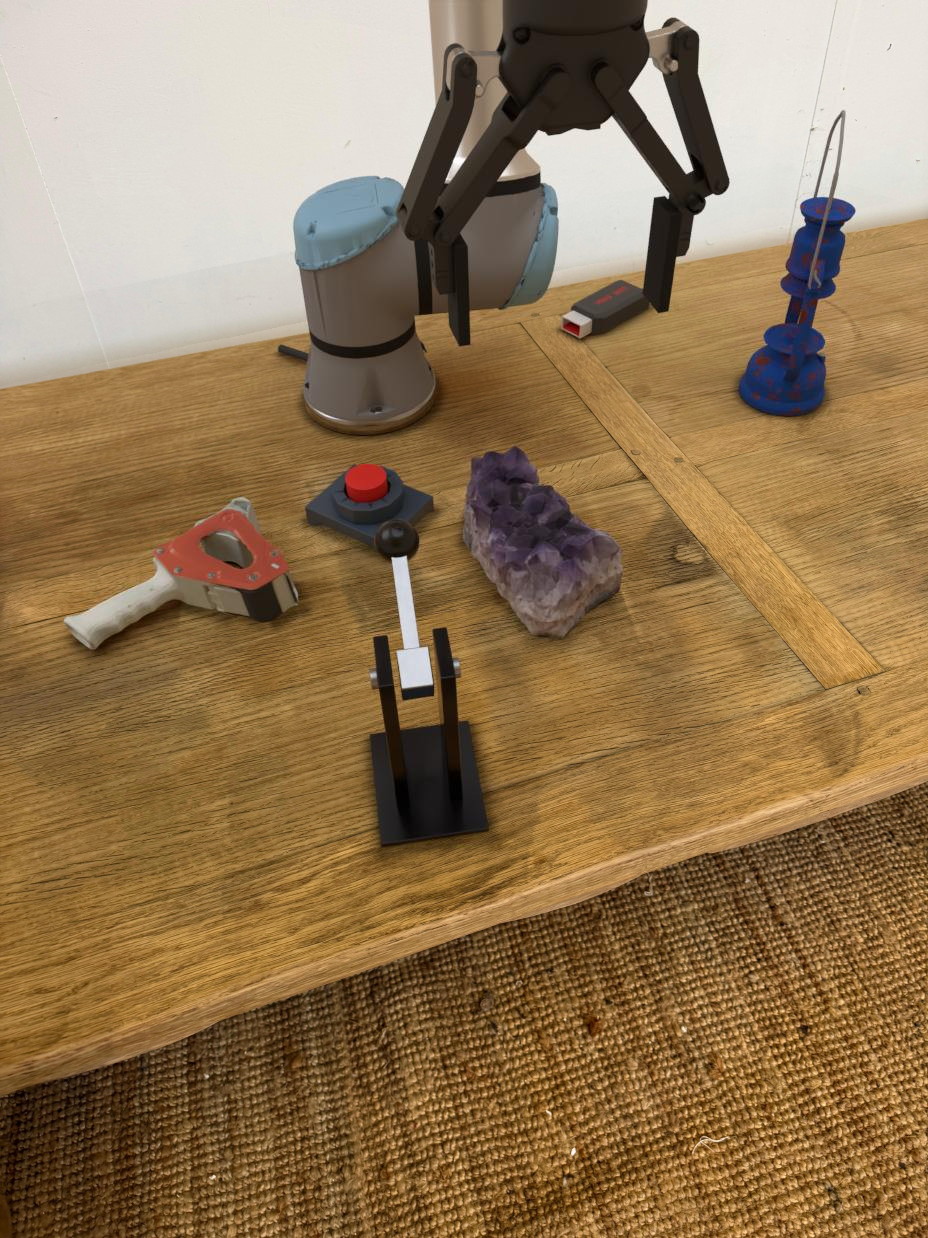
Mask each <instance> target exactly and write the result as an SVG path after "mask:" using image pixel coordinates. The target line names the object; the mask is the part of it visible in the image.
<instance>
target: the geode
mask: <svg viewBox="0 0 928 1238" xmlns="http://www.w3.org/2000/svg"><path fill="white" fill-rule="evenodd" d="M469 476H470V480H469V482H467V483H466V493H465V503H464V505H463V511H462V512H463V513H462V516H463V519H464V521H463V528H462V541H463V542H464V543H465V544H466V546H467V548H468V550H469V553H470V554H471V556H472V557H473V558H474V559H475V560H476V561H477V562H478V564H479V565H480V566H481V568H482V570H483V571H484V573H485V576H486V577H487V579H489V581H490V582H491V583H492V584H494V585H496V591H497V592H498V593H499V595H500V596H501V597H502V598H504V599H505V600H506V601H507V602H509V605H510V608H511V609H512V611H513V612H514V613H515V614H516V617H517V618H518V620H519V621H521V623H522V624H523V625H524V626H525V627H526V628H527V630H528V631H529V633H530V635H531V636H533V637H546V638H551V639H557V640H563V639H564V638H565V636H566V635H567V634H569V633H570V632H571V631H573V629H575V628H576V627H577V626H579V623H580V621H581V620H582V619H583V618H584V617H585V616H586V614H588V613H589V611H591V610H593V609H595V608H597V607H598V605H600V604H602V603H604V602H606V601H607V600H609V599H611V598H612V597H613V596H614V595H615V594H616V593H617V592H618V591H620V590H621V586H622V581H623V576H624V570H623V569H624V568H623V564H622V563H621V560H622V557H623V553H624V552H623V550H622V548H621V546H620V545H619V543H618V541H617V540H616V539H614V538H613V537H612V535H611V534H610V533H608V532H606V530H603V529H598V528H594V529H593V528H592V527H591V526H590V525H589V524H588V523H586V521H584V520H582V519H581V518H580V517H579V516H578V514H577V513H572V512H571V509H570V505H569V503H568V500H567V498H566V497H564V496H562V495H561V494H560V493H559V492H558V491H556V490H555V488H554V487H553V486H552V485H550V484H546V485H545V484H540V476H539V475H538V469H537V468H536V467H535V466H534V465H532V463H531V461H530V459H529V456H528V455H527V454H526V453H525V451H524V450H522V449H521V448H520V447H519V446H518V445H513V446H512V447H511V448H509V449H508V450H506V451H505V452H504V453H501V452H498V451H494V450H488V451H486V452H485V453H484V454H483V456H482V457H477V456H476V457H471V458H470V475H469Z"/></svg>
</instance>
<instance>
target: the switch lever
mask: <svg viewBox="0 0 928 1238" xmlns="http://www.w3.org/2000/svg"><path fill="white" fill-rule="evenodd" d="M419 535H420V534H419V533H418V531H417V529H416V528H415V526H413V525H412V524H410V523H409V522H407V521H405V520H401V519H392V520H389V521H387V522H385V523H383V524H382V525H381V526H380V527H379V528H378V530H377V532H376V534H375V539H374V545H375V548H374V549H375V551H376V553H377V555H378V556H379V557H380V558H381V559H382V560H383V561H384V562H387V563H388V564H391V566H392V574H393V580H394V582H393V583H394V588H395V595H396V603H397V610H398V618H399V625H400V633H401V639H402V647H403V649H397V650H395V654H396V664H397V671H398V679H399V686H400V694H401V700H402V701H409V700H416V699H423V698H430V697H435V681H434V680H435V678H434V674H433V673H434V672H433V666H432V660H431V652H430V646H428V645H425V646H421V643H420V637H419V629H418V621H417V617H416V609H415V602H414V594H413V588H412V582H411V581H412V580H411V574H410V567H409V566H410V565H409V561H411V560H412V559H413V558H414V557H415V556H416V555H417V553H418V551H419V548H420V536H419Z"/></svg>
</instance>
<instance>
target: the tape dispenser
mask: <svg viewBox="0 0 928 1238" xmlns="http://www.w3.org/2000/svg"><path fill="white" fill-rule="evenodd" d="M260 526H261V525H260V522H259V520H258V517H257V514H256V512H255V509H254V505H253V504H252V503H251V500H249V499H247V498H246V497H235V498H233V499H232V500H230V502H229V503H228V504H226V506H225V507H224V508H222V509H221V510H220V511H218V512H216V513H214V514H213V515H211V516H208V517H205V518H203V519H200V520H197V522H195V524H194V525H193V527H192V528H190V529H189V530H187V531H186V532H184V533H183V534H181V535H179V536H177V537H175V538H174V539H173V540H170V541H168V542H166V543H163V544H162V545H159V546H157V547H156V548H155V549H154V550H153V555H154V557H153V558H152V563H153V565H154V567H155V569H156V572H155V574H154V575H153V576H152V577H151V578H150V579H148V580H146V581H144V582H141V583H139V584H137V585H135V586H132V587H130V588H127V589H125V590H124V591H122V592H119V593H117V594H116V595H113V596H111V597H109V598H107V599H106V600H104V601H102V602H100V603H98V604H96V605H95V606H92V607H91V608H89V609H88V610H86V611H84V612H82V613H79V614H75V615H70V616H69V615H68V616H66V617H65V618H64V619H63V624H64V626H65V627H66V628H67V630H68V631H69V632H70V634H71V635H72V636H73V637H74V638H75V639H76V640H77V641H78V642H80V643H81V644H83V645H84V646H85V647H87V648H88V649H89V650H93V651H94V650H96V649H98V647H100V645H101V644H102V643H104V641H105V640H107V639H109V638H110V637H112V636H113V635H117V634H118V633H120V632H122V631H123V630H124V629H125V628H126V627H129V626H130V625H131V624H134V623H137V622H138V621H140V620H141V618H143V617H144V616H147V615H149V614H151V613H154V612H155V611H156V610H158V609H159V608H160V607H162V606H163V605H164V604H166V603H167V602H170V601H172V600H178V601H181V602H183V603H184V604H186V605H190V606H194V607H199V608H202V609H208V610H215V609H216V610H217V611H218V612H221V613H231V614H235V615H242V616H246V617H249V618H250V619H251V620H253V621H255V622H258V623H268V622H270V621H272V620H275V619H276V618H278V617H279V616H280V615H281V614H284V613H285V612H286V611H288V610H289V609H290V608H292V607H294V606H299V601H300V599H299V592H298V590H297V588H296V586H295V582H294V580H293V577H292V574H291V572H290V565H289V564H288V562H287V561H286V559H285V555H284V553H283V552H282V550H281V549H279V548H278V547H277V548H276V547H275V546H274V545H273V544H271V543H270V541H268V540H267V539H266V537H265V536H263V535H262V532H261V527H260ZM201 547H202V549H203V550H202V549H201ZM226 562H233V563H235V564H237V565H239V566H240V567H242V568H237V567H234V566H232V565H230V564H228V563H226Z"/></svg>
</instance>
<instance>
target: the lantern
mask: <svg viewBox="0 0 928 1238" xmlns="http://www.w3.org/2000/svg"><path fill="white" fill-rule="evenodd" d="M846 113H847V112H846V110H845V109H842V110H841V111H840V113H839V114H838V115H837V116H836V118H835V120H833V123H832V126H831V128H830V130H829V133H828V136H827V139H826V143H825V148H824V152H823V155H822V159H821V160H822V161H821V165H820V169H819V173H818V177H817V181H816V185H815V189H814V193H813V197H809V198H807V199H804V200H803V201H802V202H801V203H800V205H799V210H800V214H801V215H802V217H804V218H803V222H804V226H801V227H799V228H798V229H797V230H796V231H795V233H794V235H793V236H794V237H793V240H792V245H791V249H790V253H789V256H788V258H787V259H786V261H785V267H784V268H785V269H786V271H787V272H788V273H787V274H786V275H784V276H783V277H782V278H781V279H780V281H779V282H780V283H779V284H780V285H779V286H780V288H781V289H782V291H783V292H784V293H786V294H788V295H790V299H789V302H788V306H787V310H786V314H785V319H784V323H778V324H774V325H771V326H770V327H768V328H767V329H766V330H765V331H764V332H763V336H762V337H763V340H764V343H765V345H763V346H762V347H760V348H758V349H757V350H756V351H755V352H753V354H752V355H751V357H750V358H749V360H748V361H747V364H746V367H745V371H744V372H743V374H742V375H741V378H740V380H739V385H738V393H739V396H740V397H741V399H742V400H743V401H744V402H745V403H746V404H747V405H749V406H750V407H752V408H754V409H756V410H758V411H760V412H763V413H766V414H769V415H775V416H784V417H793V416H801V415H802V416H803V415H806V414H809V413H811V412H814V411H816V410H817V409H818V408H819V407H820V406H821V405H822V404H823V401H824V398H825V395H826V388H825V384H826V383H825V382H826V377H827V367H826V356H827V354H826V352H820V351H821V350H823V349H824V347H825V345H826V339H825V337H824V336H823V334H822V333H821V332H820V331H818V330H817V329H815V328H814V327H813V323H814V319H815V316H816V312H817V307H818V303H819V300H823V299H827V298H829V297H831V296H833V294H835V293H836V290H837V285H836V283H835V282H834V278H836V277H837V276H838V275H839V274H840V271H841V260H842V257H843V254H844V253H843V252H844V249H845V246H846V245H845V244H846V234H845V233H844V232H843V231H841V229H842V228H843V227H844V226H845V223H847V222H849V221H851V219H852V218H853V217H854V215H855V213H856V212H857V211H856V210H857V209H856V207H855V206H854V205H853V204H851V203H850V202H848V201H846V200H844V199H841V198H836V197H834V196H835V192H836V188H837V185H838V180H839V174H840V173H839V171H840V167H841V160H842V155H843V154H842V153H843V146H844V135H845V122H846V116H847V115H846ZM839 121H840V127H839V128H840V129H839V141H838V150H837V157H836V162H835V163H836V164H835V169H834V173H833V177H832V180H831V184H830V185H831V186H830V190H829V195H828V196H818V193H819V189H820V185H821V183H822V177H823V172H824V169H825V166H826V165H825V164H826V161H827V157H828V153H829V149H830V146H831V141H832V139H833V135H834V132H835V129H836V127H837V125H838V123H839ZM818 352H819V353H818Z"/></svg>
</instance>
